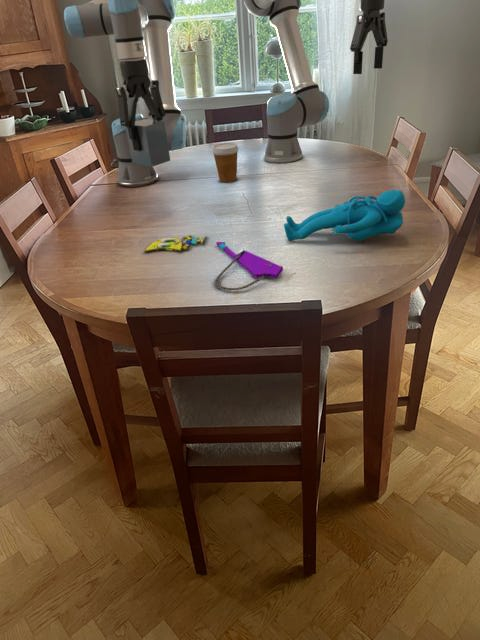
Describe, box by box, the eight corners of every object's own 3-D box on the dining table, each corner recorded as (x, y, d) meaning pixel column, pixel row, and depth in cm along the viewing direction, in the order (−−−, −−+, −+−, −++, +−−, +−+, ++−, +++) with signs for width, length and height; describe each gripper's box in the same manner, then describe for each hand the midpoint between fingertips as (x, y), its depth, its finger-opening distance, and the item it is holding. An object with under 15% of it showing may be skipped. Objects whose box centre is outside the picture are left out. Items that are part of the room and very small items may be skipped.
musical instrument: (257, 302, 103) (298, 254, 115) (255, 294, 102) (297, 246, 114) (172, 286, 116) (218, 244, 128) (170, 279, 114) (216, 237, 127)
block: (151, 167, 140) (144, 126, 134) (132, 163, 145) (124, 124, 139) (170, 160, 144) (164, 121, 138) (150, 157, 149) (144, 119, 143)
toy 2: (287, 204, 132) (400, 176, 122) (297, 239, 137) (406, 215, 127) (278, 228, 119) (405, 199, 108) (290, 266, 124) (412, 242, 113)
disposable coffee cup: (210, 183, 175) (207, 149, 168) (221, 175, 182) (218, 142, 175) (235, 184, 171) (232, 149, 165) (244, 176, 178) (242, 142, 172)
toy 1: (199, 248, 125) (143, 249, 127) (199, 251, 125) (144, 252, 127) (206, 233, 133) (154, 234, 135) (206, 236, 133) (154, 237, 136)
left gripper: (110, 64, 121) (129, 156, 134) (170, 54, 134) (181, 140, 146) (93, 64, 126) (113, 153, 138) (152, 55, 138) (165, 138, 150)
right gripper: (362, -4, 141) (358, 76, 153) (402, -7, 156) (395, 66, 168) (340, -2, 146) (338, 76, 157) (381, -5, 161) (376, 66, 172)
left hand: (148, 146), depth 142 cm, fingers closed on block, 7 cm apart
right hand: (367, 71), depth 162 cm, fingers open, 13 cm apart
